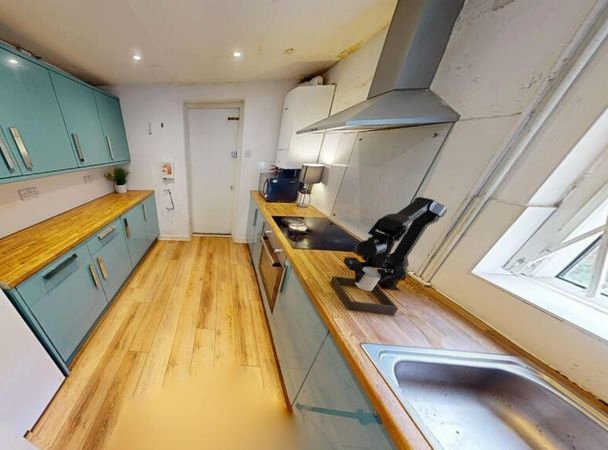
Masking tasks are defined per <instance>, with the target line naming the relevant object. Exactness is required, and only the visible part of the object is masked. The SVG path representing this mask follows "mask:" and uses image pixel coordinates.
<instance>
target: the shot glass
mask: <svg viewBox="0 0 608 450" xmlns="http://www.w3.org/2000/svg"><path fill="white" fill-rule="evenodd" d="M363 271H364V272H365V274H364V276H363V277H362V279H361V280H360V281H359V282H358V283H356V285H357V286H358V287H357V288H359V289H361V290H362V291H366V292H371V291H372V290H373V288H374V287H375V285H378V284H377V282H378V281H379V279H380V278H381V275H380V273H378V272H377V270H375V269H374V268H364V270H363Z"/></svg>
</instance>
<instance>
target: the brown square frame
mask: <svg viewBox="0 0 608 450" xmlns="http://www.w3.org/2000/svg"><path fill="white" fill-rule="evenodd" d="M329 284H330V285H331V287H332V288H333V290H334V292H335V293H336V295H337V296H338V298H339V300H340V301H341V303H342V305H343V306H344V307H345V310H346V311H354V312H361V313H362V312H363V313H370V314H376V315H377V314H378V315H384V316H385V315H387V316H393V317H394V316H395V314H396V312H397V311H398V309H399V307H398V305H396V304H395V303H394V301H392V300H391V298H390V297H389V296H388V295H387V294H386V293H385V292H384V291H383V290H382V288H380V287H379V286H378V284H376V285H375V287H374V288H373V290H372V291H370V292H371V293H372V294H373V296H374V297H375V298H376V299H377V300H378V302H379V303H372V302H364V301H362V302H361V301H355V300H351V298H350V297H349V295H348V294H347V292H346V291H345V289H344V288H343V286H346V287H353V288H354V287H355V288H359V287H358V286H357V285H356V281H355V277H346V276H336V275H332V277H331V279H330V282H329Z"/></svg>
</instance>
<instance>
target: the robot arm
mask: <svg viewBox="0 0 608 450" xmlns="http://www.w3.org/2000/svg"><path fill="white" fill-rule="evenodd" d="M447 211H448V208H447V207H446V205H445V204H442V203H440V202H437V200H435V199H432V198H428V197H423V196H417V197H416V198H414V200H413V201H412V202H411V203H409V204H408V205H406V206H405V207H404V208H402V209H401V210H399V211H398V212H396V213H388V214H386V215H384V216H382V217H380V218H379V219H378V220H377V221H376V222H375V223H374V224H373V226H372V227H371V228H370V229H369V231H368V232H367V234H368V235H370V236H369V237H368V238H367V239H365V240H361V241H360V242H359V243H358V244H357V245H355V246H354V248H353V250H352V253H353V254H354V255H356V256H357V257H361V260H363V261H360V260H359V259H358V258H357V257H351V256H346V257H344V259H343V264H344V265H345V266H346V267H347V268H348V270H350V271H352V272H354V278H355V281H356V283H358V282H359V281H360V280H361V279H362V277H363V276H364V274H365V272H364V271H363V270H364V268H370V269H374V270H375V269H377V270H376V271H377V272H378V273H380V275H381V278H380V279H379V281H378V282H377V284H376V285H379V286H380V287H381V289H384V290H392V291H393V290H395V291H399V288H398V287H397V286H398V284H399V282H400V281H405V280H406V279H407V277H408V275H409V271H408V269H407V268H408V267H409V265H410V264H409V259H408V258H409V255H410V254H411V253H412V251H413V250H414V248H415V247H416V245H417V244H418V242H419V241H420V239H421V238H422V235H423V234H424V233H425V231H426V229H428V227H429V226H430V225H433V224H435V223H437V222H438V221H439V220H440V219H441V218H443V217H444V216H445V214H446V213H447ZM409 224H410V225H409ZM397 242H399V243H398V244H397V246H396V248H394V247H395V244H396V243H397ZM393 249H394V250H393ZM392 250H393V252H392Z"/></svg>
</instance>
